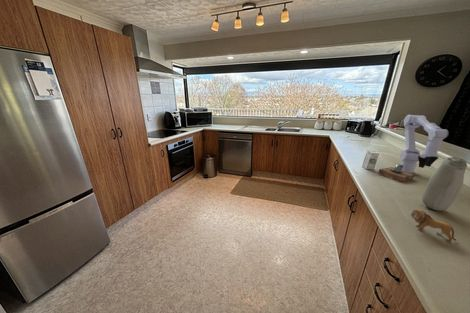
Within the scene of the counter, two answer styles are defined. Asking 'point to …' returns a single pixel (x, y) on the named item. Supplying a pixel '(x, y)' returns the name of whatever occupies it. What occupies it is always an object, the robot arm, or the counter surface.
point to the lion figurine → (432, 224)
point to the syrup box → (370, 160)
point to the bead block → (399, 177)
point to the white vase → (445, 184)
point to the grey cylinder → (398, 168)
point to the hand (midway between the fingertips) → (424, 166)
